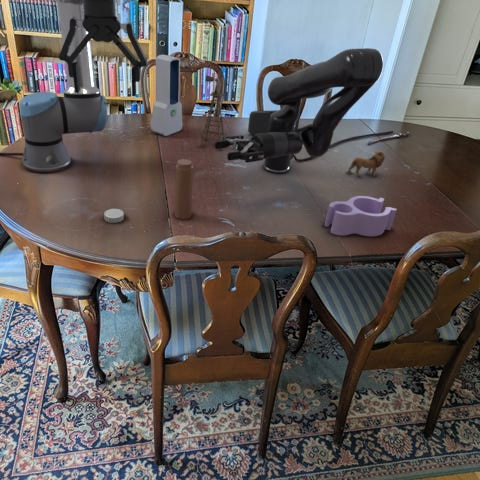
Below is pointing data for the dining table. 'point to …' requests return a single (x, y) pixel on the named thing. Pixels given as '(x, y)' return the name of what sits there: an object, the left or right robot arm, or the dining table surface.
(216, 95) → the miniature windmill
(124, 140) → the dining table surface
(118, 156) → the dining table surface
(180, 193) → the jar
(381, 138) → the sword
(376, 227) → the clip
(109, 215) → the lid
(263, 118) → the handheld gaming console
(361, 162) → the lion figurine
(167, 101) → the electronic device
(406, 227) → the dining table surface
